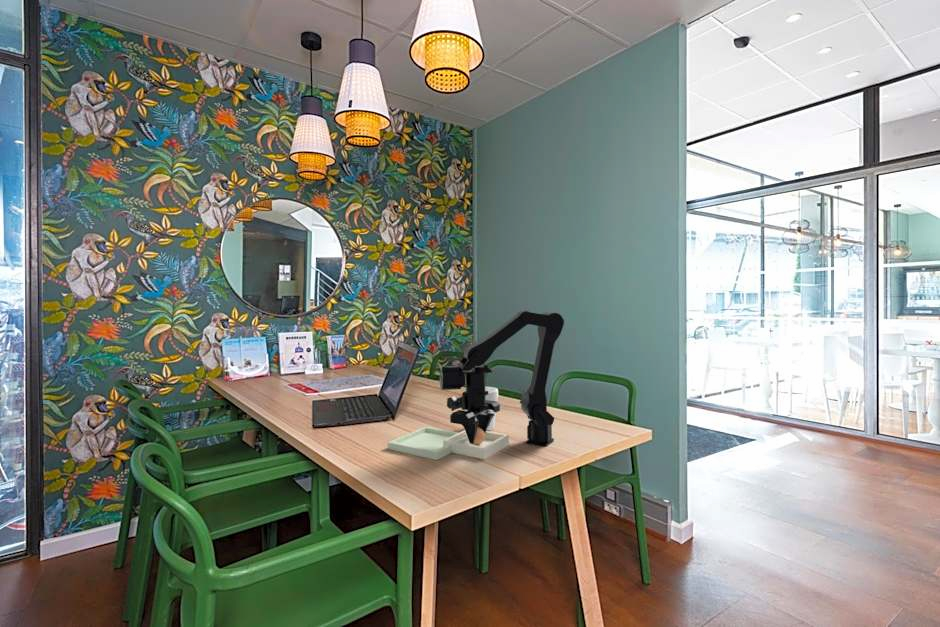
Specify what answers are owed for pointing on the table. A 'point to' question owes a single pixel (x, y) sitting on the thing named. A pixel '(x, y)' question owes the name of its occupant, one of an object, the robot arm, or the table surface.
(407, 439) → the tray
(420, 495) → the table surface
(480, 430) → the ball
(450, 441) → the white square open box
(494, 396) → the foam cup
